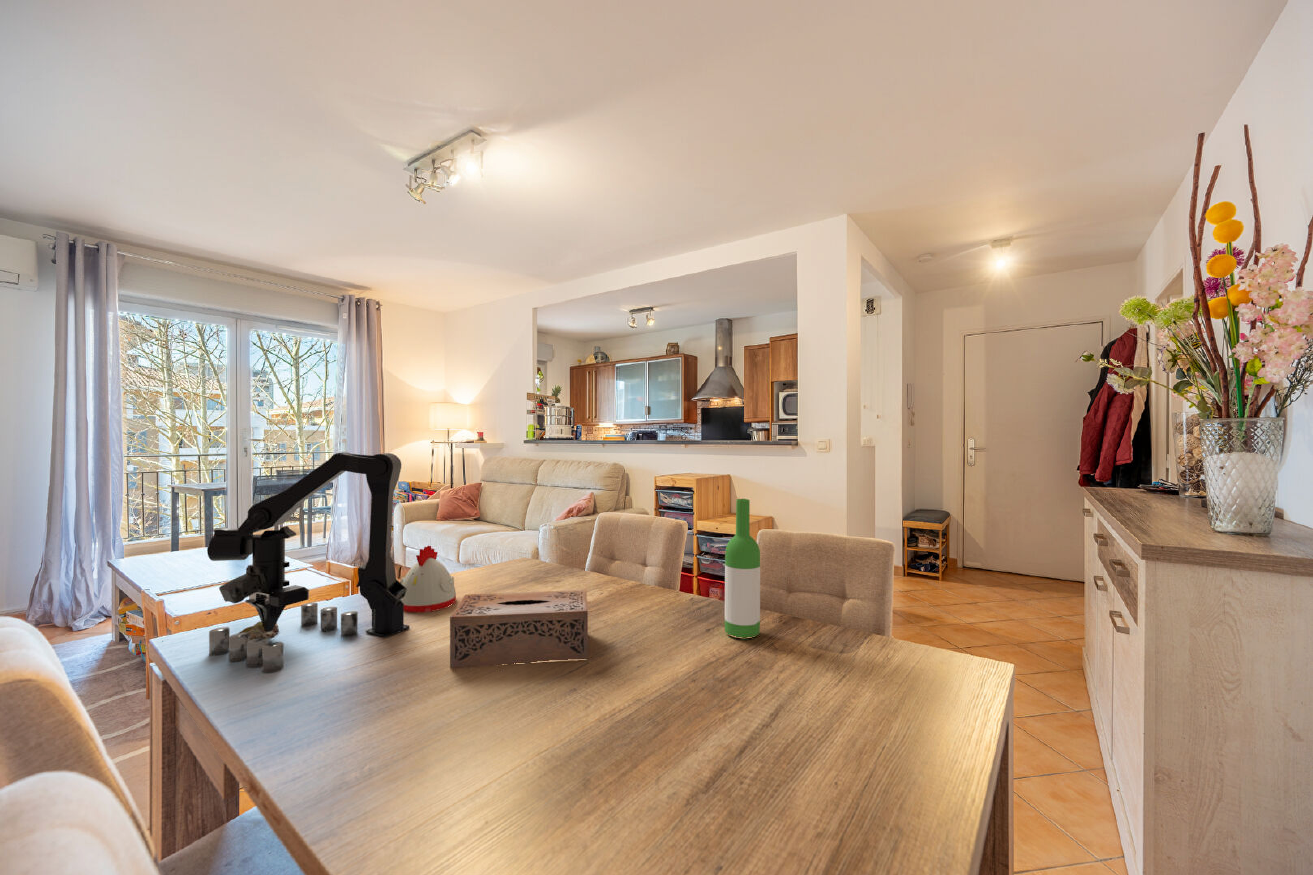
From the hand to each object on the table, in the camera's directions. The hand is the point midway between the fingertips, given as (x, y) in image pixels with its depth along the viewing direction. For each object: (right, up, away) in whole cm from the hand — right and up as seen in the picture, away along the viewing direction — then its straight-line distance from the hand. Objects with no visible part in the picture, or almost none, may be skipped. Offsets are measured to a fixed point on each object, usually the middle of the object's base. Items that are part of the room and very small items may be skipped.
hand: (268, 631), depth 117 cm
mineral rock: (-3, -2, 0) cm, 4 cm away
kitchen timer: (+24, -2, +24) cm, 34 cm away
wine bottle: (+103, -2, +3) cm, 103 cm away
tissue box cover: (+56, -2, -6) cm, 57 cm away
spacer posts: (+8, -1, -4) cm, 9 cm away
